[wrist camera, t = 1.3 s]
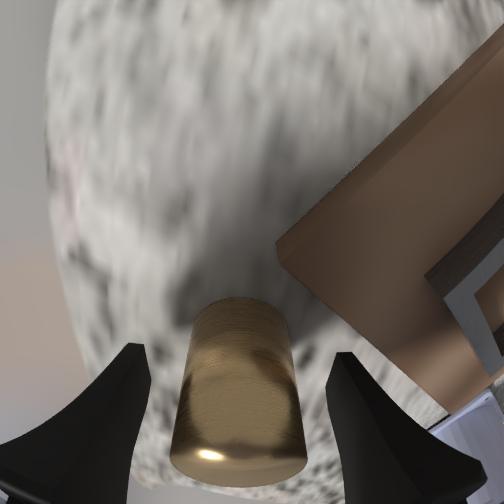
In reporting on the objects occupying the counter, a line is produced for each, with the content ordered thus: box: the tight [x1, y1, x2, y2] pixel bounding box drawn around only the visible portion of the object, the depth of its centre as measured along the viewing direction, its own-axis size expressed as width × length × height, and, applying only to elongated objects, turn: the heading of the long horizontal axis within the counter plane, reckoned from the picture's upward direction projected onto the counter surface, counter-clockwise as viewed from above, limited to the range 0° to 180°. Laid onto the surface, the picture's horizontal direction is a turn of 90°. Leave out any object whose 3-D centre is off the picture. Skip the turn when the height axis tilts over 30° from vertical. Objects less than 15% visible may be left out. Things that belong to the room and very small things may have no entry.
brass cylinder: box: [170, 297, 308, 488], centre depth 10 cm, size 4×4×6 cm
